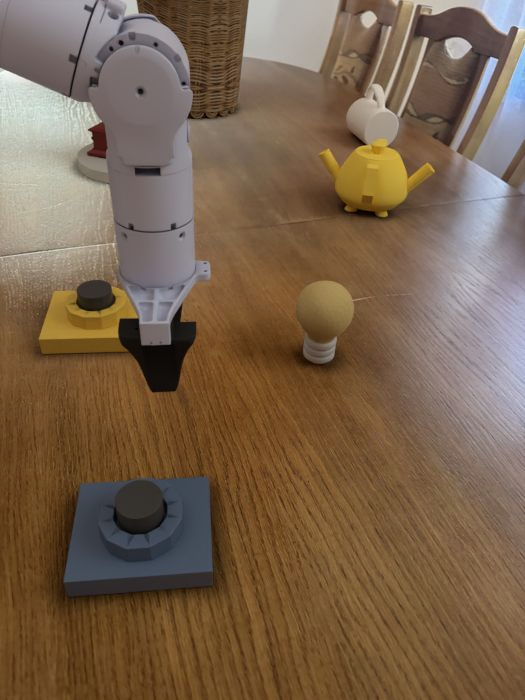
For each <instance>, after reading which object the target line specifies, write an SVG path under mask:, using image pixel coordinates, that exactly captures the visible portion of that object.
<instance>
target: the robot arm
mask: <svg viewBox="0 0 525 700" xmlns="http://www.w3.org/2000/svg"><path fill="white" fill-rule="evenodd" d="M126 10H127V4H126V2H124V1H123V0H107V2H105V1H103V0H0V69H2V70H3V71H4V70H5V71H7V72H8V73H11V74H14V75H16V76H18V77H21V78H23V79H25V80H27V81H30V82H32V83H34V84H37V85H39V86H41V87H43V88H45V89H48V90H50V91H52V92H55V93H58V94H59V95H62V96H64V97H66V98H70V99H71V100H73V101H75V102H78V103H90V104H91V106H92V108H93V110H94V112H95V114H96V116H97V117H98V119H99V120H100V121H101V122H103V123H104V124H105V131H106V139H107V147H108V149H107V151H106V161H107V169H108V177H109V183H108V184H109V192H110V198H111V199H110V200H111V207H112V215H113V217H112V218H113V225H114V231H115V233H114V234H115V240H116V247H117V248H116V249H117V255H118V256H117V257H118V263H119V264H118V267H117V277H118V281H119V284H120V286H121V288H122V290H124V292H125V293H126V295H127V297H128V299H129V301H130V303H131V305H132V307H133V308H134V310H135V312H136V314H137V316H138V318H120V320H119V327H118V337H119V340H120V342H121V345H122V346H123V347H124V348H126V349H127V350H128V351H129V353H130V354H131V356H132V357H133V358H134V359H135V360H136V362H137V364H138V366H139V368H140V370H141V372H142V375H143V376H144V377H143V378H144V380H145V382H146V385H147V387H148V388H149V390H150V392H151V393H175V392H177V390H178V387H179V384H180V381H181V380H180V379H181V374H182V368H183V363H184V360H185V357H186V355H187V353H188V351H189V350H190V349H191V347H192V346H193V345H194V343H195V342H196V341H195V340H196V337H197V321H182V312H183V305H184V304H183V303H184V301H185V300H186V299H187V296H188V295H189V293H190V292H191V290H192V289H193V288H194V286H195V284H196V283H198V282H208V281H209V280H211V278H212V277H211V263H210V261H207V260H199V259H198V260H197V259H196V246H195V245H196V243H195V215H194V214H195V206H194V203H195V202H194V175H193V173H194V172H193V169H194V168H193V152H192V149H191V147H190V145H189V143H190V139H191V125H190V123H189V120H187V119H188V117H189V114H190V109H191V106H192V100H193V92H192V90H190V68H189V61H188V57H187V54H186V51H185V49H184V47H183V45H182V43H181V42H180V40H179V39H178V37H177V36H176V35H175V34H174V33H173V32H172V31H171V30H170V29H169V28H168V27H166V26H165V25H163V24H161V23H160V22H159V21H158V19H157V18H156V17H155V16H153V15H150V14H142V13H132V14H128V15H125V14H126Z"/></svg>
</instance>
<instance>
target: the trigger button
mask: <svg viewBox="0 0 525 700" xmlns="http://www.w3.org/2000/svg"><path fill="white" fill-rule="evenodd" d="M112 286H113V285H111V283H110V282H108V281H106V280H103V279H90V280H86V281H83V282H82V283H80V284H79V285H78V286H77V287H76V290H75V291H76V292H77V297H78V302H79V307H80V308H81V309H82V310H85V311H101V310H104V309H107V308H110V307H111V306H112V305H113V302H114V300H113V293H112Z"/></svg>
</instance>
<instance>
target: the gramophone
mask: <svg viewBox="0 0 525 700" xmlns="http://www.w3.org/2000/svg"><path fill="white" fill-rule="evenodd" d="M87 131H88V132H91V138H90V139H91V140H92V142H91V143H89V144H87V145H84V146H83V147H82V148H81V149H80V150H78V152H77V154H76V162H77V168H78V169H79V171H80V172H81V174H82V175H84V176H86V177H87V178H89V179H91V180H93V181H97V182H101V183H105V184H109V177H108V169H107V161H106V151H107V149H108V147H107V139H106V131H105V124H104V123H103V122H102V121H101V122H99V123H96V124H95V125H93V126H91V127H89V128H87Z"/></svg>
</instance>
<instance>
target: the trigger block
mask: <svg viewBox="0 0 525 700" xmlns="http://www.w3.org/2000/svg"><path fill="white" fill-rule="evenodd" d="M111 286H112V293H113V300H114V302H113V305H112V306H111V307H110V308H107V309H104V310H101V311H85V310H82V309H81V308H80V307H79V302H78V297H77V292H76V290H54V291H53V294H52V297H51V300H50V303H49V306H48V309H47V311H46V315H45V318H44V320H43V324H42V327H41V331H40V333H39V336H38V340H37V341H38V345H39V348H40V351H41V354H42V355H56V354H57V355H58V354H84V353H85V354H86V353H87V354H88V353H89V354H91V353H92V354H93V353H123V352H124V353H125V352H127V353H128V352H129V351H128V350H127V349H126V348H124V347H123V346H122V345H121V342H120V340H119V337H118V327H119V320H120V318H138V316H137V314H136V312H135V310H134V308H133V307H132V305H131V303H130V301H129V299H128V297H127V295H126V293H125V292H124V290H123V289H121V288H119V287H116V286H114V285H111ZM129 353H130V352H129Z"/></svg>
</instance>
